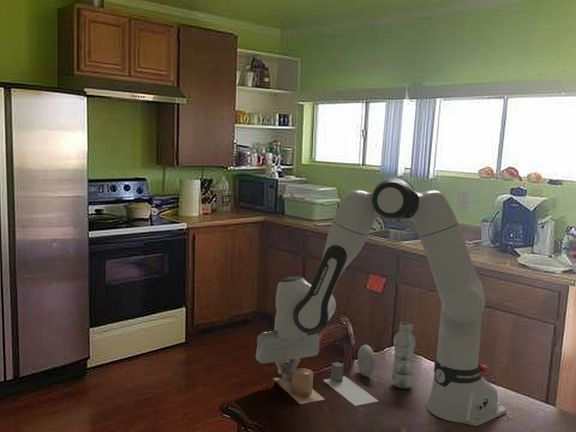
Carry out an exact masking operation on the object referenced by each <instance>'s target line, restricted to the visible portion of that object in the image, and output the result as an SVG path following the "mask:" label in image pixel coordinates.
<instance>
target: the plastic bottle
mask: <svg viewBox="0 0 576 432" xmlns="http://www.w3.org/2000/svg"><path fill="white" fill-rule="evenodd" d="M398 330H399V331H398V332H397V333H396V334H395V336H394V337H393V350H394V357H393V358H394V361H393V368H392V371H391V377H390V380H391V384H392V385H393V386H394V387H395V388H397V389H402V390H403V389H404V390H406V389H410V388H411V387H412V385H413V383H414V374H413V358H414V353H415V352H414V351H415V348H416V338H415V337H414V334H413V333H412V332H413V324H412V323H410V322H406V321H405V322H404V321H403V322H400V323H399V327H398Z"/></svg>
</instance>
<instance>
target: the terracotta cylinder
mask: <svg viewBox="0 0 576 432" xmlns="http://www.w3.org/2000/svg"><path fill="white" fill-rule="evenodd" d="M313 385H314V371H313V370H312V369H309V368H304V367H300V368H296V369H294V370H293V374H292V393H293V394H294V395H296V396H300V397H306V396H310V395H311V394H312V389H313Z"/></svg>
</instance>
